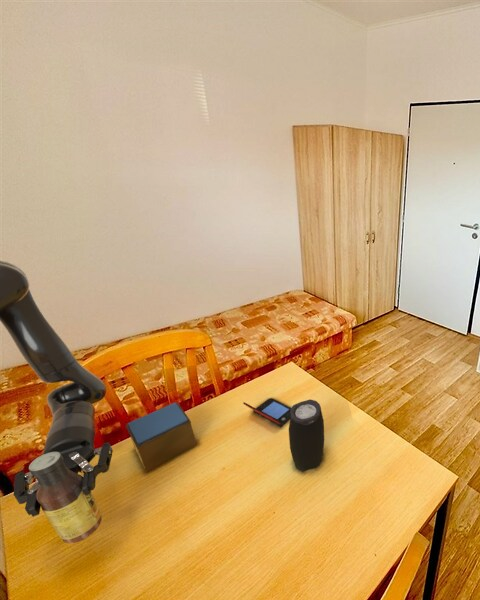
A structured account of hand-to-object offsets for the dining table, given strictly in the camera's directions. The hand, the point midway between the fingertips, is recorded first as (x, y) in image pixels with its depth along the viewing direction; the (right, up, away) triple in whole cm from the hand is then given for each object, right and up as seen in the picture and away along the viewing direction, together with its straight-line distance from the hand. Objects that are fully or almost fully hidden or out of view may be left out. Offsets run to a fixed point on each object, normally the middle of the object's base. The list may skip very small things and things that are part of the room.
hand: (61, 501), depth 58 cm
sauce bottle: (-3, -10, +7) cm, 12 cm away
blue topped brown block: (-5, -5, +33) cm, 34 cm away
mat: (-4, +4, +29) cm, 29 cm away
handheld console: (+20, -2, +47) cm, 51 cm away
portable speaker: (+36, -9, +33) cm, 50 cm away
